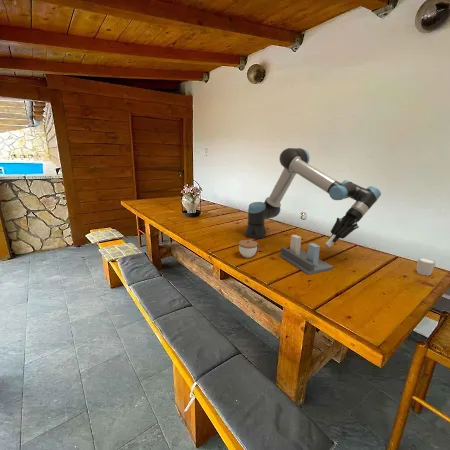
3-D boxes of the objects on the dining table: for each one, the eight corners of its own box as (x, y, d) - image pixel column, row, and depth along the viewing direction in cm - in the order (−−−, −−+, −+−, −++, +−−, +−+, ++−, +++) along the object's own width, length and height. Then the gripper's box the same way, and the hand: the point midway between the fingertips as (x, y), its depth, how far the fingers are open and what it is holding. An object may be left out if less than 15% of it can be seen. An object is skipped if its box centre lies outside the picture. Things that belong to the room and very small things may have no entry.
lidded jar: (241, 260, 134) (242, 244, 132) (236, 252, 144) (236, 237, 142) (259, 258, 137) (260, 242, 134) (252, 251, 147) (253, 236, 144)
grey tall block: (306, 263, 128) (308, 243, 124) (310, 262, 129) (312, 242, 125) (312, 267, 123) (315, 247, 120) (317, 266, 124) (320, 246, 121)
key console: (278, 255, 141) (279, 247, 140) (301, 251, 147) (302, 243, 146) (308, 274, 119) (309, 265, 118) (333, 269, 125) (334, 260, 124)
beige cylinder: (415, 268, 127) (418, 256, 125) (432, 272, 123) (435, 260, 121) (414, 273, 122) (417, 260, 120) (432, 277, 118) (435, 264, 116)
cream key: (289, 253, 140) (291, 235, 137) (293, 252, 141) (295, 234, 138) (295, 256, 135) (296, 238, 132) (299, 255, 137) (301, 237, 133)
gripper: (370, 219, 123) (340, 254, 122) (349, 213, 135) (321, 245, 134) (364, 210, 120) (333, 246, 119) (343, 204, 131) (315, 237, 130)
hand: (327, 245), depth 126 cm, fingers closed
